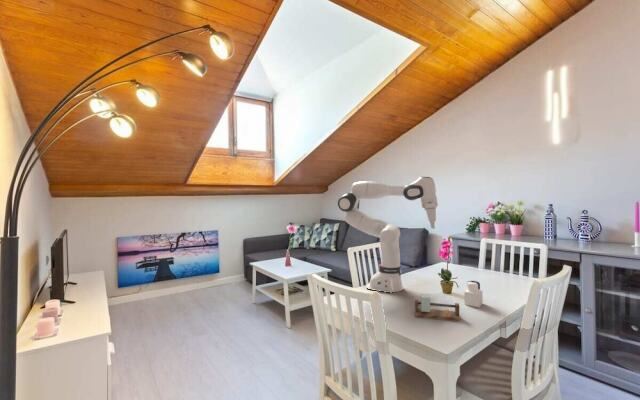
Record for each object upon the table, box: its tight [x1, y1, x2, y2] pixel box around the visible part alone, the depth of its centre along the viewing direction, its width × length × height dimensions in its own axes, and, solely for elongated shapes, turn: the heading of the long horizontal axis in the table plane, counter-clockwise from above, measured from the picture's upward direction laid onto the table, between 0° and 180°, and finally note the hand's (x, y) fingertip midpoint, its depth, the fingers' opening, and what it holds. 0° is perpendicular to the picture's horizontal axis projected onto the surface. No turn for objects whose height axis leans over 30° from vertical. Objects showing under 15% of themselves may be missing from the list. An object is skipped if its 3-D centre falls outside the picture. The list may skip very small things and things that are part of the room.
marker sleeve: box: [420, 293, 431, 312], centre depth 151 cm, size 4×5×7 cm
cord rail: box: [414, 299, 461, 322], centre depth 150 cm, size 20×8×6 cm, turn 71°
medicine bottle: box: [464, 280, 484, 308], centre depth 162 cm, size 7×7×12 cm
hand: (432, 227), depth 181 cm, fingers open, 8 cm apart
